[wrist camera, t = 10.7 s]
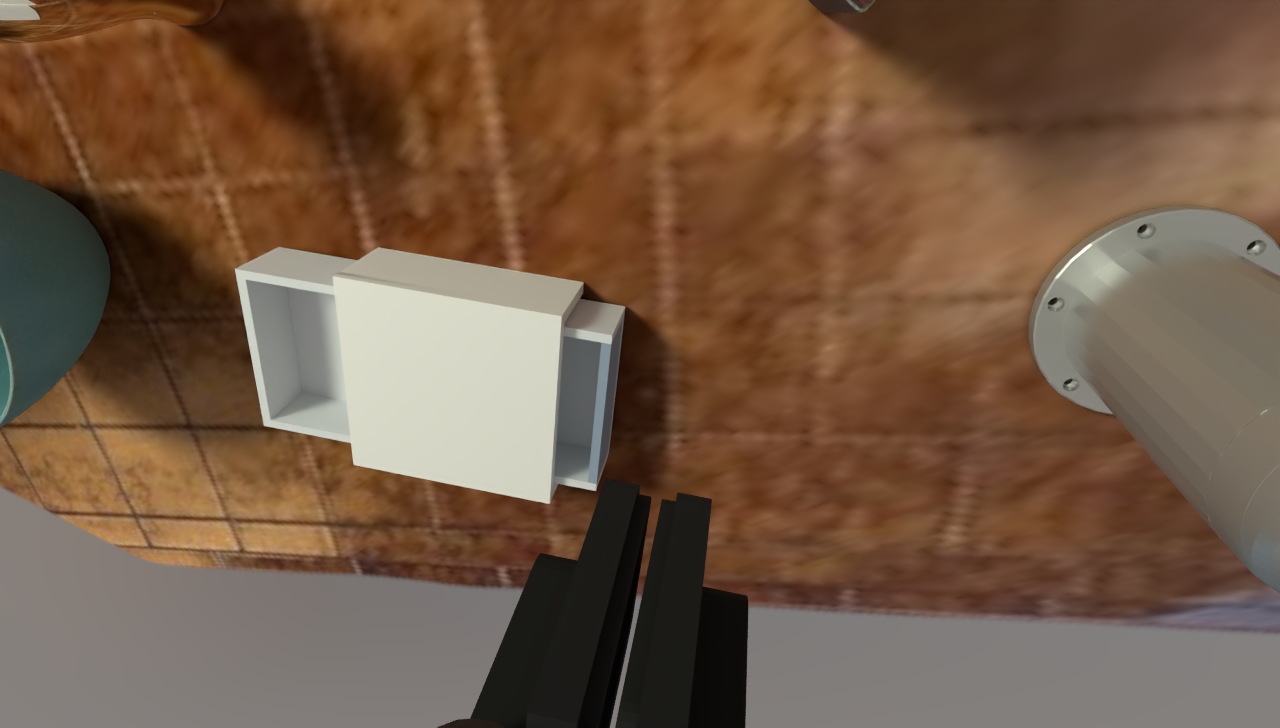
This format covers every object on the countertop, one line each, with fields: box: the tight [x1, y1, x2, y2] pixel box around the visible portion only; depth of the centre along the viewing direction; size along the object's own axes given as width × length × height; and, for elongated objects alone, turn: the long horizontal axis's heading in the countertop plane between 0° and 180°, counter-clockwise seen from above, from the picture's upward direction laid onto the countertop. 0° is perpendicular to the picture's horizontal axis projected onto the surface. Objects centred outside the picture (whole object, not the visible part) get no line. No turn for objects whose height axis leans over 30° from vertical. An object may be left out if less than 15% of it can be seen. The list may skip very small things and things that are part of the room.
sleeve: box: [333, 247, 584, 504], centre depth 45 cm, size 14×14×6 cm
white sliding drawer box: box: [235, 247, 625, 491], centre depth 46 cm, size 24×12×4 cm, turn 83°
